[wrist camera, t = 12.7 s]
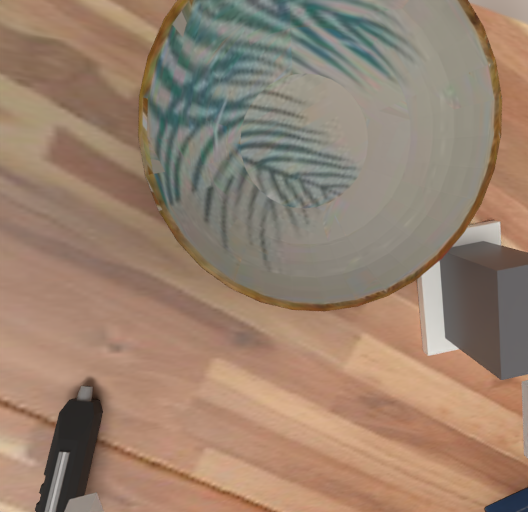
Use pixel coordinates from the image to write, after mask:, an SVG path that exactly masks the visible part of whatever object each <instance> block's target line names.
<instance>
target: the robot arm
mask: <svg viewBox="0 0 528 512" xmlns="http://www.w3.org/2000/svg"><path fill="white" fill-rule="evenodd" d="M522 403H523V435H524V455H525V456H526V457H527V458H528V380H527V381H523V382H522ZM64 512H104V511H103V508H102V505H101V503H100V500H99V497H98V494H97V492H96V493H92V494H88V495H85V496H81V497H77V498H73V499H69V502H68V504H67V507H66V509H65V511H64Z"/></svg>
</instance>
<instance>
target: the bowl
mask: <svg viewBox="0 0 528 512" xmlns="http://www.w3.org/2000/svg"><path fill="white" fill-rule="evenodd" d="M501 117H502V96H501V90H500V83H499V77H498V71H497V65H496V60H495V57H494V55H493V52H492V49H491V46H490V43H489V41H488V38H487V35H486V32H485V30H484V27H483V25H482V23H481V21H480V20H479V18H478V16H477V15H476V13H475V11H474V10H473V8H472V6H471V5H470V3H469V1H468V0H177V2H176V3H175V4H174V6H173V7H172V9H171V10H170V12H169V13H168V14H167V16H166V17H165V19H164V21H163V23H162V25H161V28H160V30H159V32H158V35H157V37H156V39H155V41H154V44H153V46H152V48H151V51H150V53H149V55H148V58H147V63H146V67H145V72H144V77H143V81H142V86H141V90H140V95H139V131H138V138H139V143H140V149H141V155H142V160H143V166H144V172H145V176H146V179H147V182H148V184H149V187H150V189H151V192H152V195H153V197H154V200H155V203H156V205H157V208H158V210H159V212H160V214H161V215H162V217H163V219H164V220H165V222H166V223H167V225H168V227H169V228H170V230H171V231H172V233H173V235H174V236H175V238H176V239H177V241H178V242H179V244H180V245H181V246H182V247H183V248H184V249H185V250H186V251H187V252H188V253H189V254H190V255H191V256H192V257H193V259H194V260H195V261H196V262H197V263H198V264H199V265H200V266H201V267H202V268H203V269H204V270H206V271H207V272H209V273H210V274H211V275H213V276H214V277H215V278H217V279H218V280H220V281H221V282H222V283H224V284H225V285H227V286H228V287H229V288H231V289H233V290H235V291H238V292H240V293H242V294H244V295H246V296H248V297H251V298H253V299H255V300H257V301H259V302H262V303H266V304H271V305H275V306H279V307H283V308H287V309H291V310H309V311H330V310H337V309H343V308H350V307H357V306H360V305H363V304H366V303H369V302H372V301H374V300H377V299H380V298H383V297H386V296H388V295H390V294H392V293H394V292H396V291H397V290H399V289H401V288H403V287H404V286H406V285H408V284H410V283H412V282H413V281H415V280H417V279H418V278H419V277H420V276H422V275H423V274H424V273H425V272H426V271H428V270H429V269H430V268H431V267H432V266H434V265H435V264H436V263H437V262H438V261H440V260H441V259H442V258H443V257H444V256H445V254H446V253H447V252H448V251H449V250H450V249H451V247H452V246H453V245H454V244H455V243H456V242H457V240H458V239H459V238H460V237H461V236H462V235H463V233H464V232H465V230H466V229H467V227H468V225H469V224H470V222H471V220H472V218H473V217H474V215H475V213H476V212H477V210H478V208H479V207H480V205H481V203H482V201H483V198H484V196H485V193H486V190H487V188H488V185H489V182H490V180H491V177H492V175H493V172H494V169H495V164H496V159H497V153H498V148H499V143H500V138H501Z"/></svg>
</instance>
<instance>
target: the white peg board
mask: <svg viewBox="0 0 528 512" xmlns="http://www.w3.org/2000/svg"><path fill="white" fill-rule="evenodd" d="M481 241H485V242H489V243H493V244H497V245H500V246H501V229H500V222H499V221H488V222H482V223H477V224H472V225H468V227H467V229H466V230H465V232H464V233H463V235H462V236H461V237H460V238H459V239H458V240H457V242H456V243H455V244H454V245H453V246H452V247H455V246H460V245H466V244H471V243H476V242H481ZM417 286H418V298H419V309H420V321H421V332H422V344H423V352H425V353H426V354H427V355H428V356H430V355H434V354H439V353H444V352H448V351H453V350H457V349H459V348H458V347H456V346H455V345H454V344H452V343H451V342H450V341H448V340H447V339H446V338H445V328H444V315H443V301H442V287H441V273H440V261H438V262H437V263H436V264H435V265H434V266H432V267H431V268H430V269H429V270H428V271H426V272H425V273H424V274H423V275H422V276H420V277H419V278H418V279H417Z"/></svg>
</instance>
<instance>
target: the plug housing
mask: <svg viewBox="0 0 528 512" xmlns="http://www.w3.org/2000/svg"><path fill="white" fill-rule="evenodd" d="M440 273H441V287H442V301H443V315H444V328H445V338H446V339H447V340H448V341H450V342H451V343H452V344H454V345H455V346H456V347H458V348H459V349H460V350H462V351H463V352H464V353H466V354H467V355H468V356H470V357H471V358H472V359H474V360H475V361H476V362H478V363H479V364H480V365H482V366H483V367H485V368H486V369H487V370H489V371H490V372H491V373H493V374H494V375H495V376H497V377H498V378H499V379H501V380H504V379H508V378H513V377H517V376H522V375H526V374H528V253H527V252H523V251H519V250H515V249H512V248H508V247H504V246H500V245H497V244H493V243H489V242H485V241H481V242H476V243H471V244H466V245H460V246H455V247H451V249H450V250H449V251H448V252H447V253H446V254H445V256H444V257H443V258H442V259H441V260H440Z"/></svg>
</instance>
